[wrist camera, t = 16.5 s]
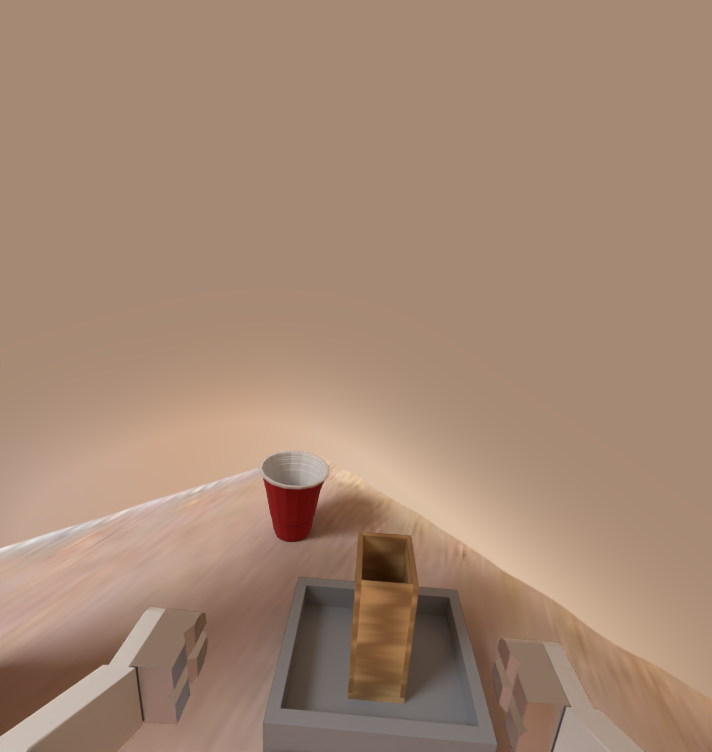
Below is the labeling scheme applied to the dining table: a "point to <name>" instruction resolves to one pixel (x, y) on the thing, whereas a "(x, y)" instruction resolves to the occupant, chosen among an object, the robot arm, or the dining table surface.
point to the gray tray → (373, 718)
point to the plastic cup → (293, 491)
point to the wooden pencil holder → (382, 617)
